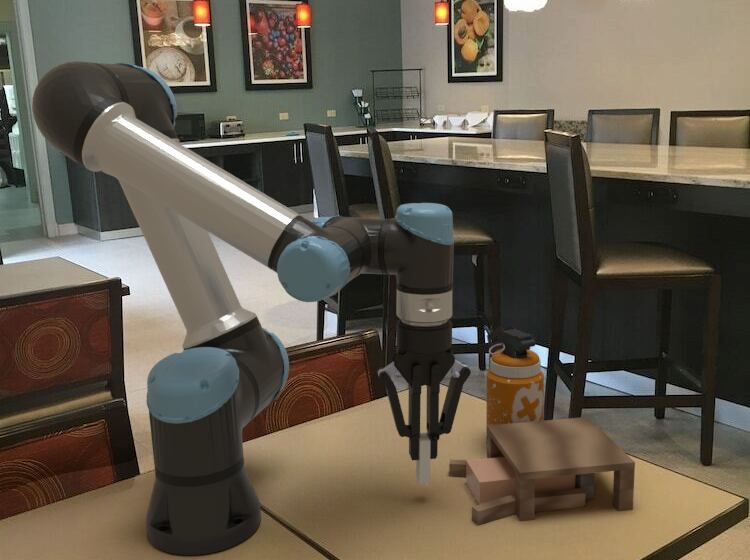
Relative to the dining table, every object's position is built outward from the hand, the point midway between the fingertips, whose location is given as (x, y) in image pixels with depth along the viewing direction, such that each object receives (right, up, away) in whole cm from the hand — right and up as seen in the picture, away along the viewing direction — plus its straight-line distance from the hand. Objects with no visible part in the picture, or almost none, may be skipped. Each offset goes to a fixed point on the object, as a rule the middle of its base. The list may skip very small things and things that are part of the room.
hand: (422, 479), depth 112 cm
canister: (+15, +1, +17) cm, 23 cm away
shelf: (+16, -2, +3) cm, 17 cm away
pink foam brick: (+14, -3, +3) cm, 15 cm away
